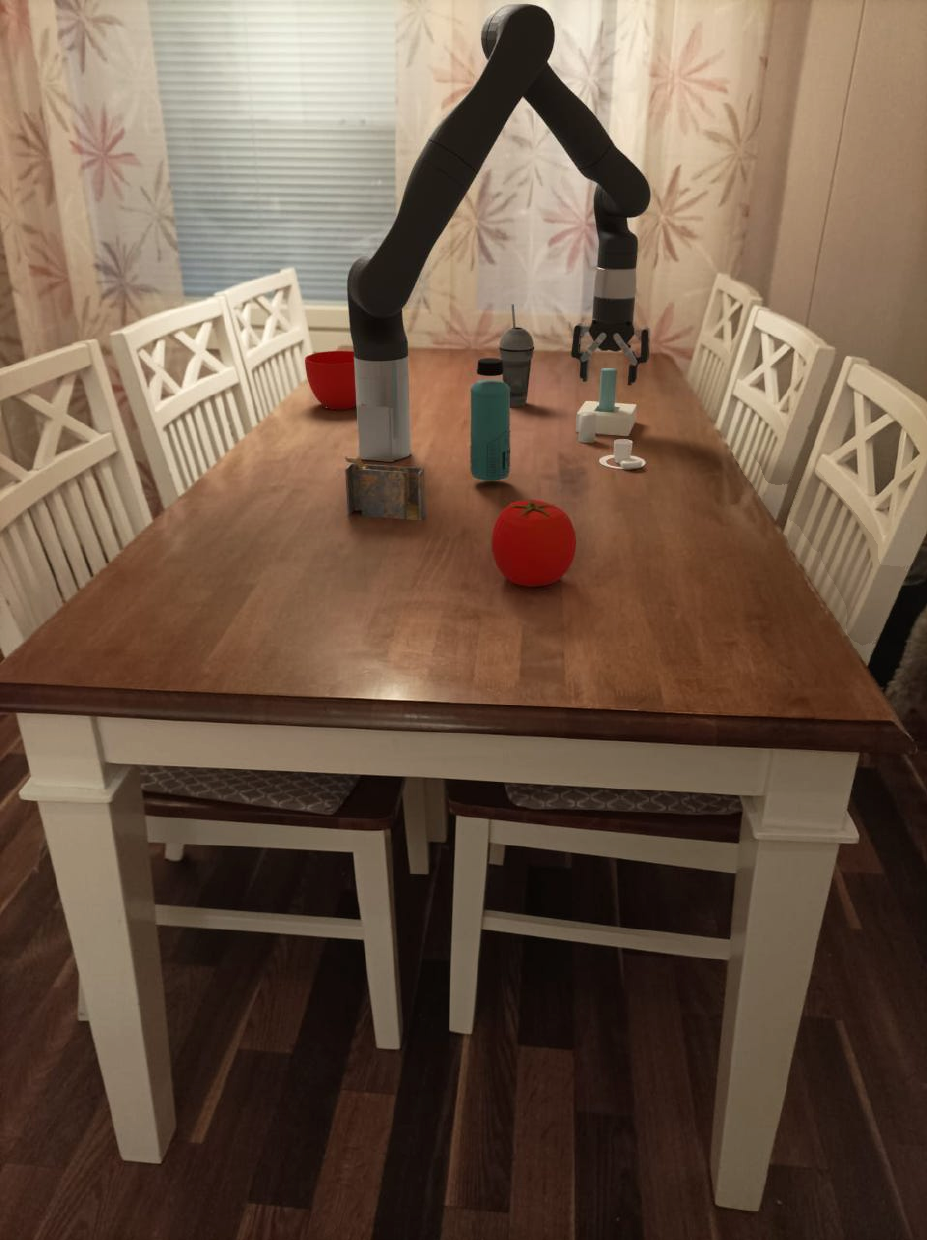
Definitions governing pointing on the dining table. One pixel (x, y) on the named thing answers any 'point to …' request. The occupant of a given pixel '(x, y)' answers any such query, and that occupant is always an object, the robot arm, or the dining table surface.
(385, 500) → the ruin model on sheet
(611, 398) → the long pin
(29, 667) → the dining table surface
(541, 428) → the dining table surface
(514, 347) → the beverage cup
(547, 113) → the robot arm
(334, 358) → the ceramic cup
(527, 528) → the tomato
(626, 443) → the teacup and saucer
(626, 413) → the hole block
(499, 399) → the beverage bottle
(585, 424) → the short pin
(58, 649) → the dining table surface
